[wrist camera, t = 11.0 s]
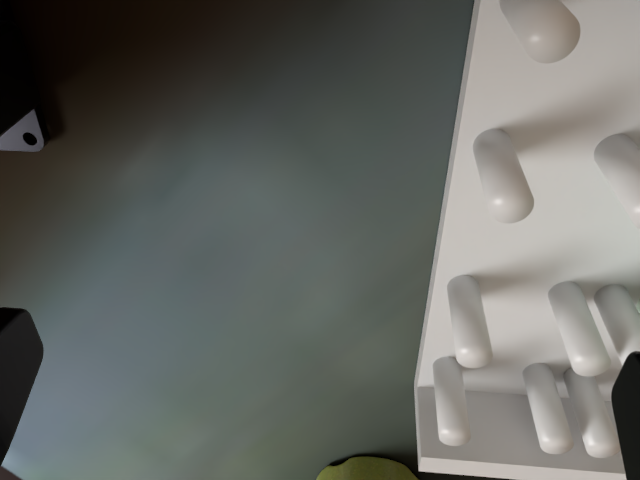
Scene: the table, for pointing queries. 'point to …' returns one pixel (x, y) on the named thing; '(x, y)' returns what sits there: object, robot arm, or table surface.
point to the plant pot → (367, 470)
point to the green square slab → (638, 306)
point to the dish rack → (536, 247)
